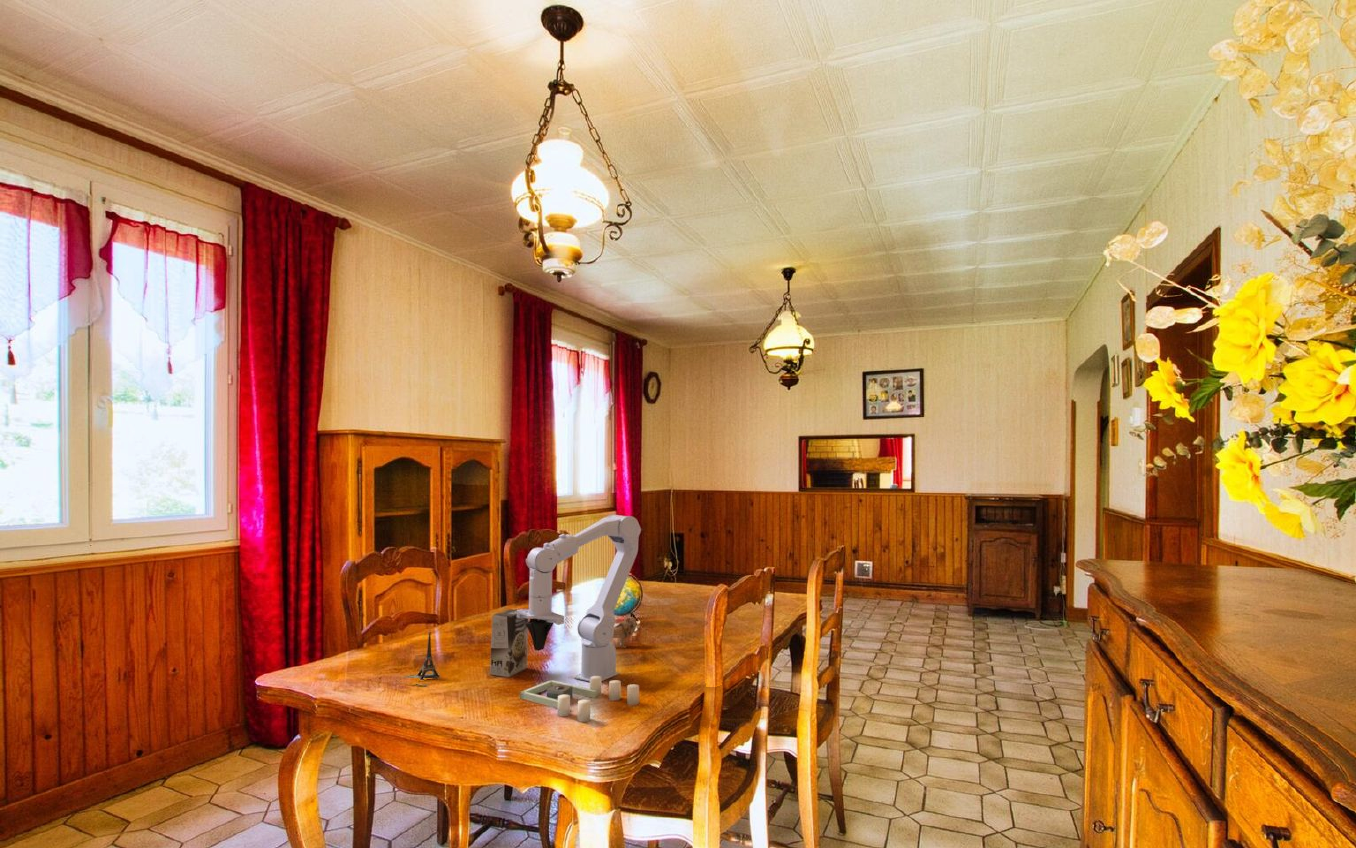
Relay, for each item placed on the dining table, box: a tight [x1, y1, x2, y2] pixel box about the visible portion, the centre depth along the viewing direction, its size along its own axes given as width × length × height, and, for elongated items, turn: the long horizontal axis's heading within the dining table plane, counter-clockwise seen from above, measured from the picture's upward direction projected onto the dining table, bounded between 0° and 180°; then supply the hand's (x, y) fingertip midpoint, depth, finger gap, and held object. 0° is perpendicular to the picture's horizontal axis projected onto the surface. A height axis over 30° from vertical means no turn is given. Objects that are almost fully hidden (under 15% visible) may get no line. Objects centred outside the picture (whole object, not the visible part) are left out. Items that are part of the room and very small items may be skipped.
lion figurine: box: [612, 616, 637, 649], centre depth 207 cm, size 15×5×9 cm, turn 106°
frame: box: [519, 679, 598, 709], centre depth 161 cm, size 11×15×2 cm
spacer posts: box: [557, 676, 640, 723], centre depth 154 cm, size 17×14×4 cm
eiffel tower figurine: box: [404, 630, 442, 687], centre depth 177 cm, size 15×10×13 cm
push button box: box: [546, 684, 574, 700], centre depth 160 cm, size 4×4×3 cm
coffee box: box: [489, 608, 529, 678], centre depth 182 cm, size 9×6×16 cm
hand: (539, 649), depth 167 cm, fingers closed
